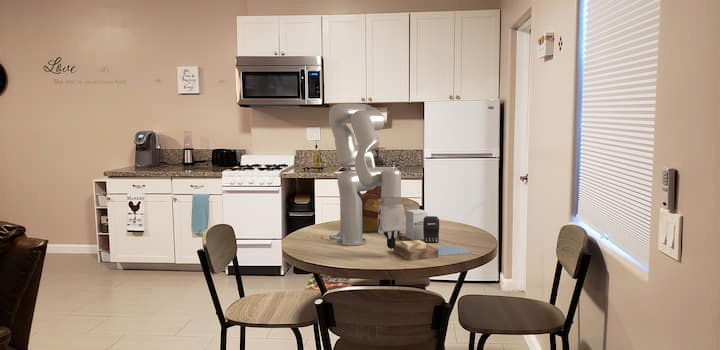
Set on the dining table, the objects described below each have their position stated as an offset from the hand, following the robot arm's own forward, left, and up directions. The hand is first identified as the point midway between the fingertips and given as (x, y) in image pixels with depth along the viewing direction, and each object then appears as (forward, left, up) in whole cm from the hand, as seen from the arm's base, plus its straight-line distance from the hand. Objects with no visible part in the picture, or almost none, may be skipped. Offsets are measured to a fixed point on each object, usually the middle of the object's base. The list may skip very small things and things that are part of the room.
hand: (391, 247), depth 213 cm
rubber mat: (+25, 0, -4) cm, 25 cm away
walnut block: (+11, 0, -4) cm, 11 cm away
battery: (+27, +16, -4) cm, 31 cm away
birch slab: (+10, 0, 0) cm, 10 cm away
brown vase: (+13, +50, -4) cm, 52 cm away
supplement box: (+25, +26, -4) cm, 36 cm away
